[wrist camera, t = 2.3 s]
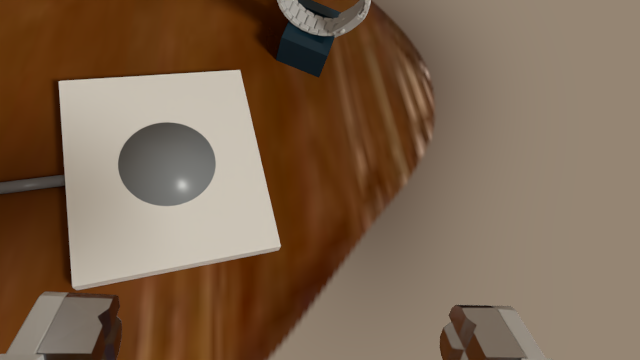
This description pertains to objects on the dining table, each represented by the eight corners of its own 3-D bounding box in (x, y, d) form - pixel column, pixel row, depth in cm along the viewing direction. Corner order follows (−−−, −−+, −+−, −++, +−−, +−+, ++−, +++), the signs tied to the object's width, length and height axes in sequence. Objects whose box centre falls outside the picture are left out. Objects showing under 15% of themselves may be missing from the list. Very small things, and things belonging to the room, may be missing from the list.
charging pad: (-41, 96, 33) (-49, 87, 32) (238, 78, 40) (239, 69, 39) (-45, 314, 28) (-55, 311, 27) (278, 250, 34) (280, 246, 33)
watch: (275, 11, 44) (297, -93, 34) (350, 43, 45) (393, -51, 35) (255, 52, 41) (274, -48, 32) (335, 85, 42) (377, -3, 33)
